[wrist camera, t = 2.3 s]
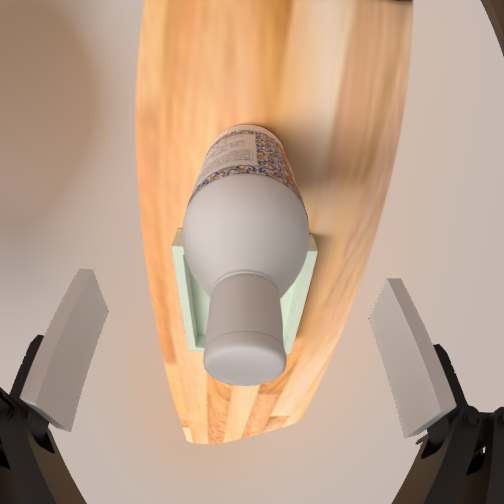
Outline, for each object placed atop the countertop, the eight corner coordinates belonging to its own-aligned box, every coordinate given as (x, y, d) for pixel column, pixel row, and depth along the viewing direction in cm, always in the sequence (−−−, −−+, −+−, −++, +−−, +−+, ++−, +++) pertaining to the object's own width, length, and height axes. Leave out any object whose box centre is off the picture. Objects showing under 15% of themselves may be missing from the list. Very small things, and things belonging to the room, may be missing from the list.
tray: (177, 228, 30) (171, 246, 27) (312, 233, 30) (317, 251, 28) (191, 333, 41) (189, 350, 38) (288, 336, 41) (290, 353, 39)
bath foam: (282, 194, 28) (321, 402, 12) (209, 194, 27) (168, 401, 12) (288, 124, 23) (372, 302, 8) (206, 123, 23) (119, 299, 7)
